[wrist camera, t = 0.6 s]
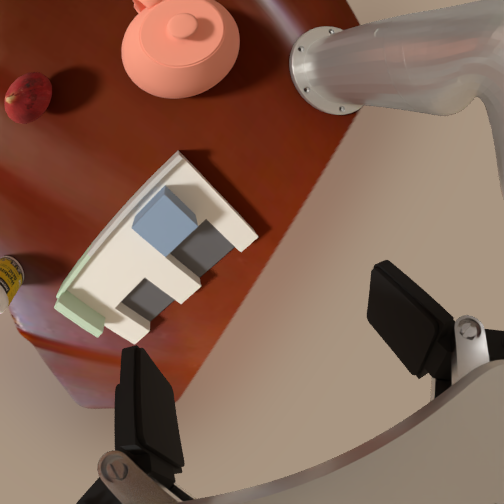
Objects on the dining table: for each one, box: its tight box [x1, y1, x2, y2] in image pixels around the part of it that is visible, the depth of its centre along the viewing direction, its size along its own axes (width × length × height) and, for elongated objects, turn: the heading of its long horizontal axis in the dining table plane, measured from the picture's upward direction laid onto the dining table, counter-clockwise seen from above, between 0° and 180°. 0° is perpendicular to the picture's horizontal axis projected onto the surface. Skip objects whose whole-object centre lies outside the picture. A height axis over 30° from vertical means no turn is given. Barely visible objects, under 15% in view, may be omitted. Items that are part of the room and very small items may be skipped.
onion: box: [5, 72, 52, 124], centre depth 18 cm, size 6×6×8 cm
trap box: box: [54, 150, 258, 344], centre depth 33 cm, size 25×14×6 cm, turn 129°
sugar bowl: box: [122, 0, 240, 99], centre depth 19 cm, size 12×14×10 cm
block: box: [132, 186, 198, 257], centre depth 29 cm, size 5×5×4 cm
